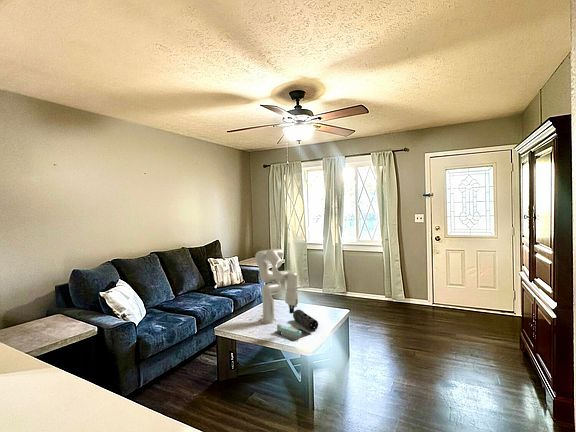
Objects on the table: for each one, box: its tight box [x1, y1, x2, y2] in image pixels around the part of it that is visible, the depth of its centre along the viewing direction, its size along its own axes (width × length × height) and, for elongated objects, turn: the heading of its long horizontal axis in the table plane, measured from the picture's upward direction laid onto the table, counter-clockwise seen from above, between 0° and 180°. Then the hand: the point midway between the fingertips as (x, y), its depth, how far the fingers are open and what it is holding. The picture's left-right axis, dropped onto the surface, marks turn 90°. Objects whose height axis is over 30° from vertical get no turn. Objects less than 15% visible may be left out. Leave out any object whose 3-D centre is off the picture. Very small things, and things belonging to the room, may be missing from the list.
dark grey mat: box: [273, 325, 312, 342], centre depth 237 cm, size 22×20×1 cm
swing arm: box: [276, 323, 301, 336], centre depth 233 cm, size 22×4×5 cm, turn 53°
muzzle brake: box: [292, 309, 319, 332], centre depth 253 cm, size 10×28×10 cm, turn 25°
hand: (291, 312), depth 237 cm, fingers closed
